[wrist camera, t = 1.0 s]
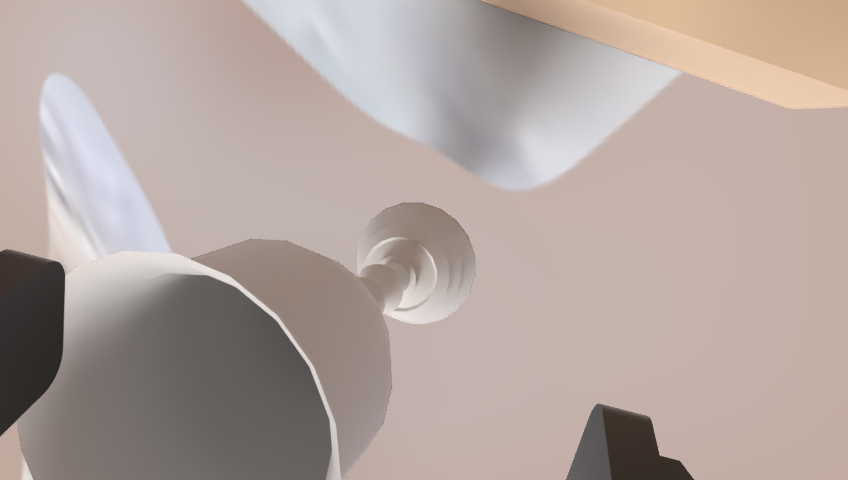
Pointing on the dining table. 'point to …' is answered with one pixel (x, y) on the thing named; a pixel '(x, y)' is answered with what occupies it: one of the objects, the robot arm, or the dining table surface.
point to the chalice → (239, 355)
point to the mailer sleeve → (722, 41)
